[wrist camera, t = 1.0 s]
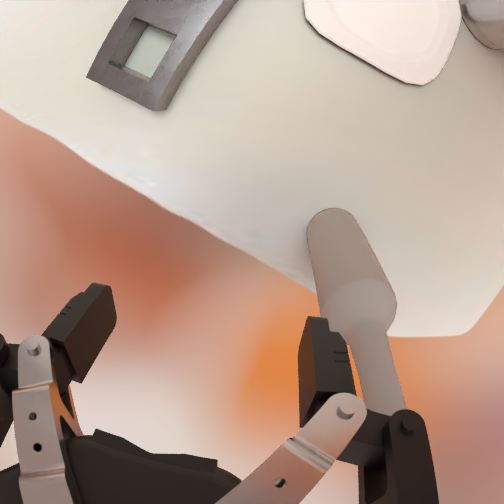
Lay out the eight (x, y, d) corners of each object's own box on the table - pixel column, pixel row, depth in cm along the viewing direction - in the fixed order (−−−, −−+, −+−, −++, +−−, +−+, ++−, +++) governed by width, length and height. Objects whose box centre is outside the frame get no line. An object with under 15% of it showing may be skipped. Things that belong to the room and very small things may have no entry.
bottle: (298, 246, 38) (311, 468, 13) (319, 199, 35) (385, 410, 10) (344, 263, 39) (399, 471, 14) (367, 219, 36) (473, 416, 11)
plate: (423, 102, 28) (429, 102, 27) (286, 25, 26) (287, 22, 25) (464, 3, 20) (470, 1, 19) (342, -70, 18) (345, -76, 17)
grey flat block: (196, -60, 20) (188, -74, 17) (267, -36, 22) (266, -50, 18) (103, 78, 30) (85, 77, 26) (165, 109, 31) (152, 110, 28)
